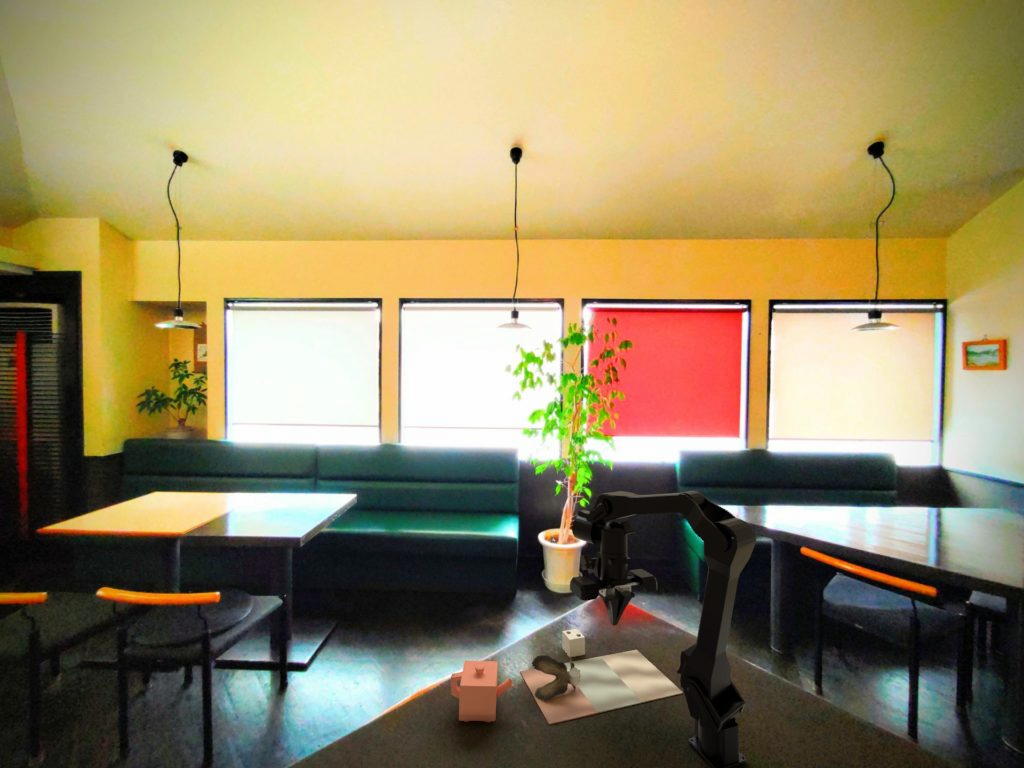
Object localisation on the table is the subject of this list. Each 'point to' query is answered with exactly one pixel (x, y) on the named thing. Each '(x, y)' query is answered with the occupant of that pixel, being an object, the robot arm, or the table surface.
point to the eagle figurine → (561, 679)
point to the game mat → (603, 686)
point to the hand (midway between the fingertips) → (613, 624)
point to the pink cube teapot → (478, 690)
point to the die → (573, 642)
